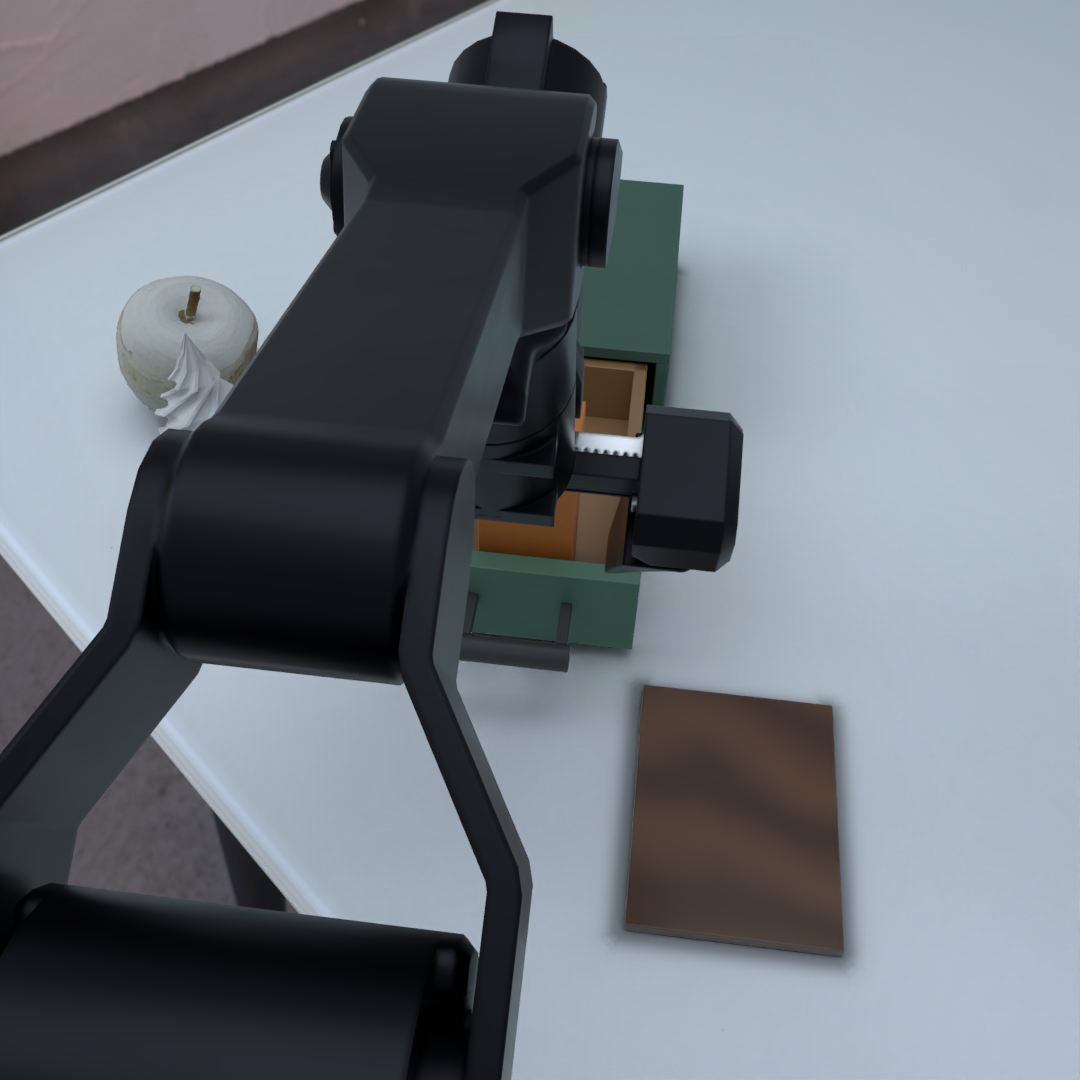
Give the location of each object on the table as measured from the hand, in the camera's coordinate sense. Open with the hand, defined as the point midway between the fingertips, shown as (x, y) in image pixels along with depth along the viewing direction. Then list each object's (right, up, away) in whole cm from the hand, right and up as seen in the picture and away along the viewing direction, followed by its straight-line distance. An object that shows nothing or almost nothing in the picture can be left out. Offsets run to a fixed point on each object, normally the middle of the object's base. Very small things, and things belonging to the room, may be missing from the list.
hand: (509, 552), depth 60 cm
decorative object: (-21, +9, +26) cm, 34 cm away
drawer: (+1, 0, +17) cm, 17 cm away
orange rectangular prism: (+1, -1, +14) cm, 14 cm away
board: (+11, -13, +5) cm, 18 cm away
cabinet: (+3, +15, +32) cm, 35 cm away
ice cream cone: (-17, +1, +18) cm, 25 cm away
